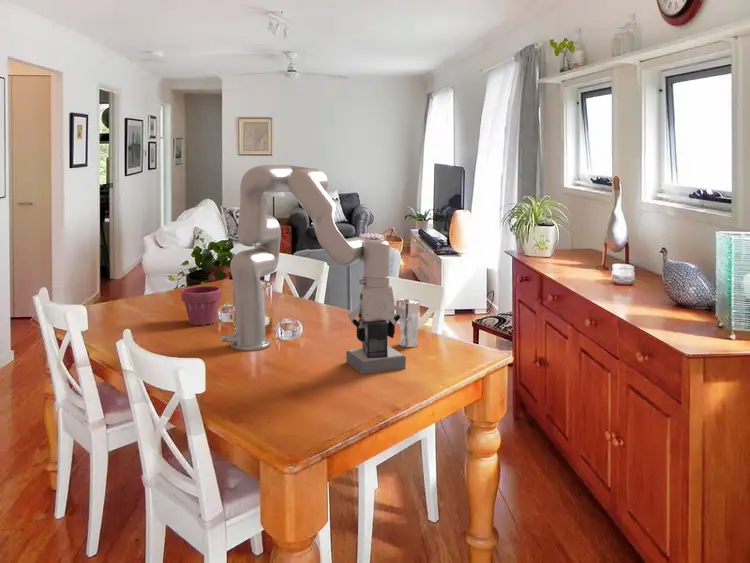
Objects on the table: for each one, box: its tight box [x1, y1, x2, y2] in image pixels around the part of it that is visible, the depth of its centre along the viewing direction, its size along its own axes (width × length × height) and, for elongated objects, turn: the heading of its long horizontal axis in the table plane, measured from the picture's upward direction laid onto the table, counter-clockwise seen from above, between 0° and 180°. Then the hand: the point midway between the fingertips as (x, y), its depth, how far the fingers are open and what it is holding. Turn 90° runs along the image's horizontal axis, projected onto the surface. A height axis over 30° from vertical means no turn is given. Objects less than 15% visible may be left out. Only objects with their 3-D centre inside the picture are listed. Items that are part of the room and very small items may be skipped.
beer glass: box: [398, 298, 421, 349], centre depth 219 cm, size 7×7×15 cm
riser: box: [345, 344, 407, 375], centre depth 199 cm, size 14×12×4 cm
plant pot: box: [181, 285, 222, 326], centre depth 245 cm, size 14×14×13 cm
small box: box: [361, 320, 389, 358], centre depth 197 cm, size 11×6×10 cm, turn 10°
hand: (375, 338), depth 197 cm, fingers open, 9 cm apart
